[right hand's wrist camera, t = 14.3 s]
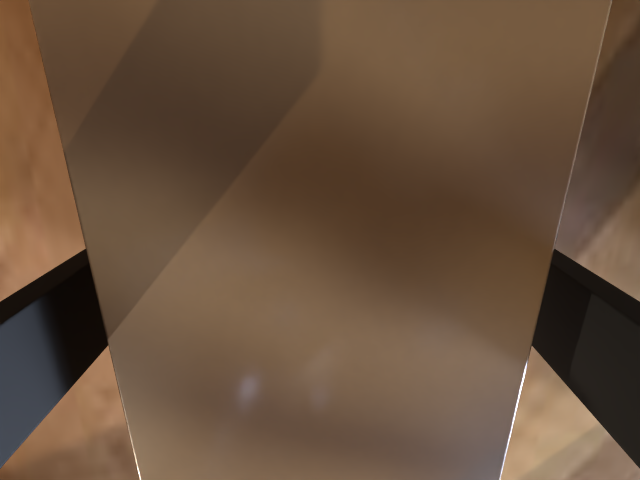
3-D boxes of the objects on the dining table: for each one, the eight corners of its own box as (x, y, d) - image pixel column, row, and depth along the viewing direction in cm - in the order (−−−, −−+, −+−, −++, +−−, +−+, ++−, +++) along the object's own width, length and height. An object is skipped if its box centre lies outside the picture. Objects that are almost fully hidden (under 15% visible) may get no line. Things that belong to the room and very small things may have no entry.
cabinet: (177, -168, 13) (-166, -817, 4) (463, -168, 13) (808, -820, 4) (225, 312, 19) (142, 496, 10) (414, 312, 19) (497, 496, 10)
